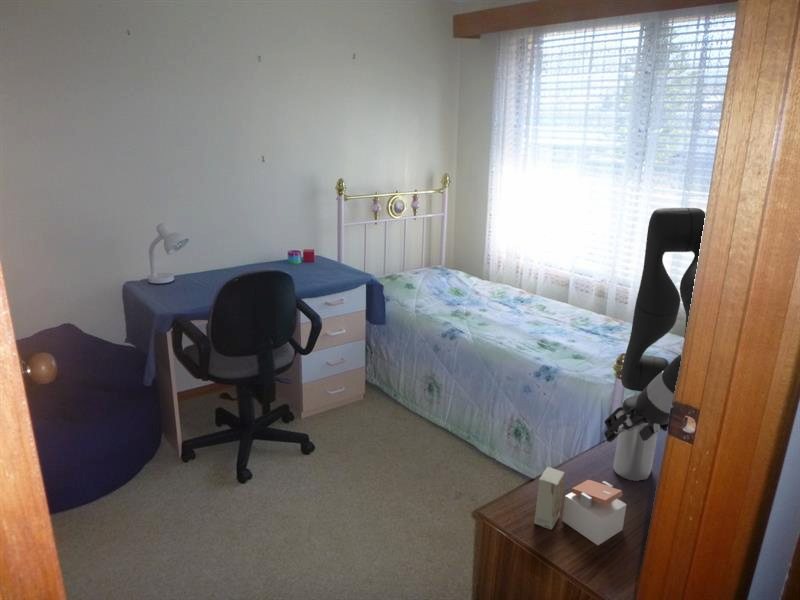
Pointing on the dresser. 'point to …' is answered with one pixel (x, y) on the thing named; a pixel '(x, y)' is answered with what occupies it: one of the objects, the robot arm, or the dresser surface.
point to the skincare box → (549, 497)
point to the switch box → (594, 516)
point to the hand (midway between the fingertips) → (624, 437)
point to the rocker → (597, 492)
